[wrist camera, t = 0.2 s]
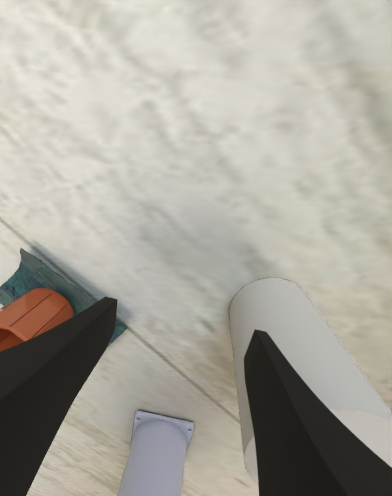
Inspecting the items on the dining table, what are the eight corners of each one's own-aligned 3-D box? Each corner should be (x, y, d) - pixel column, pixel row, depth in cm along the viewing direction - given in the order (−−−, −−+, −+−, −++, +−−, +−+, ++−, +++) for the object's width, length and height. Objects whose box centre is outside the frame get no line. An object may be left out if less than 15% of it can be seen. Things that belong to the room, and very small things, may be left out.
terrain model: (136, 316, 23) (129, 328, 22) (100, 352, 26) (91, 366, 24) (31, 239, 21) (14, 246, 19) (4, 287, 24) (-13, 298, 22)
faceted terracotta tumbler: (76, 336, 23) (39, 381, 18) (24, 325, 23) (-26, 367, 18) (75, 293, 21) (34, 331, 16) (19, 281, 21) (-39, 316, 16)
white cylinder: (213, 319, 23) (213, 464, 12) (264, 262, 20) (325, 381, 9) (273, 355, 24) (325, 520, 13) (329, 306, 21) (455, 460, 10)
